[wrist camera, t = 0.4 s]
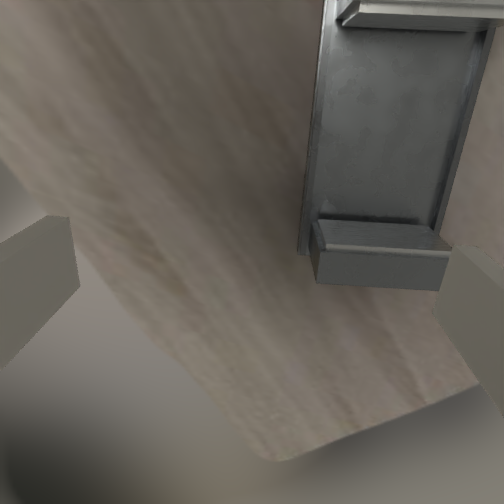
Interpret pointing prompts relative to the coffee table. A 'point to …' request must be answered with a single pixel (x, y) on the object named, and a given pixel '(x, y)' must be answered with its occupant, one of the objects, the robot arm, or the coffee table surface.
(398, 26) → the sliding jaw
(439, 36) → the base
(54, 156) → the coffee table surface
